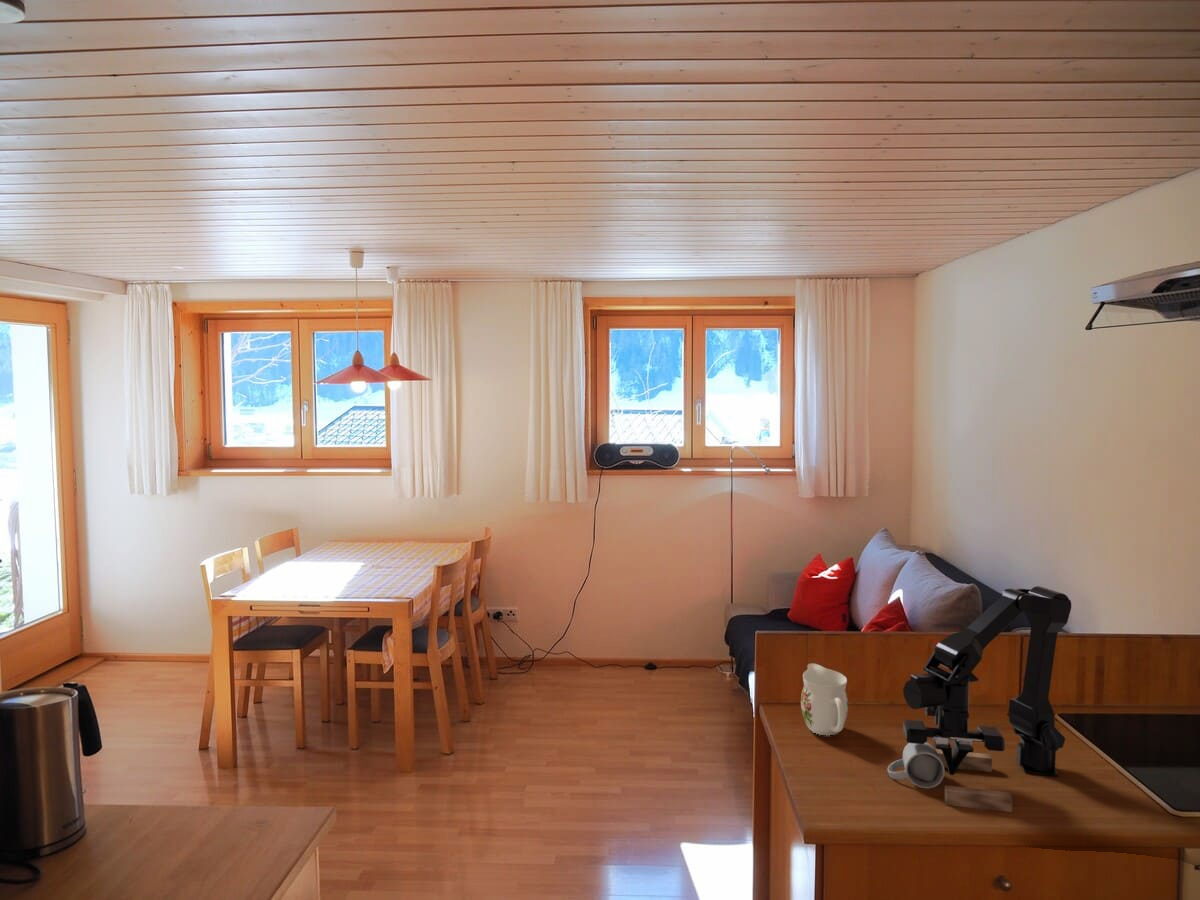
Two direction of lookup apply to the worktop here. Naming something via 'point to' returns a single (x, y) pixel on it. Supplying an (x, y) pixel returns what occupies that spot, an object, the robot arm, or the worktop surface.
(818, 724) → the pitcher
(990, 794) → the mug dock
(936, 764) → the ceramic mug
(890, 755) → the worktop surface
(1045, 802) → the worktop surface
